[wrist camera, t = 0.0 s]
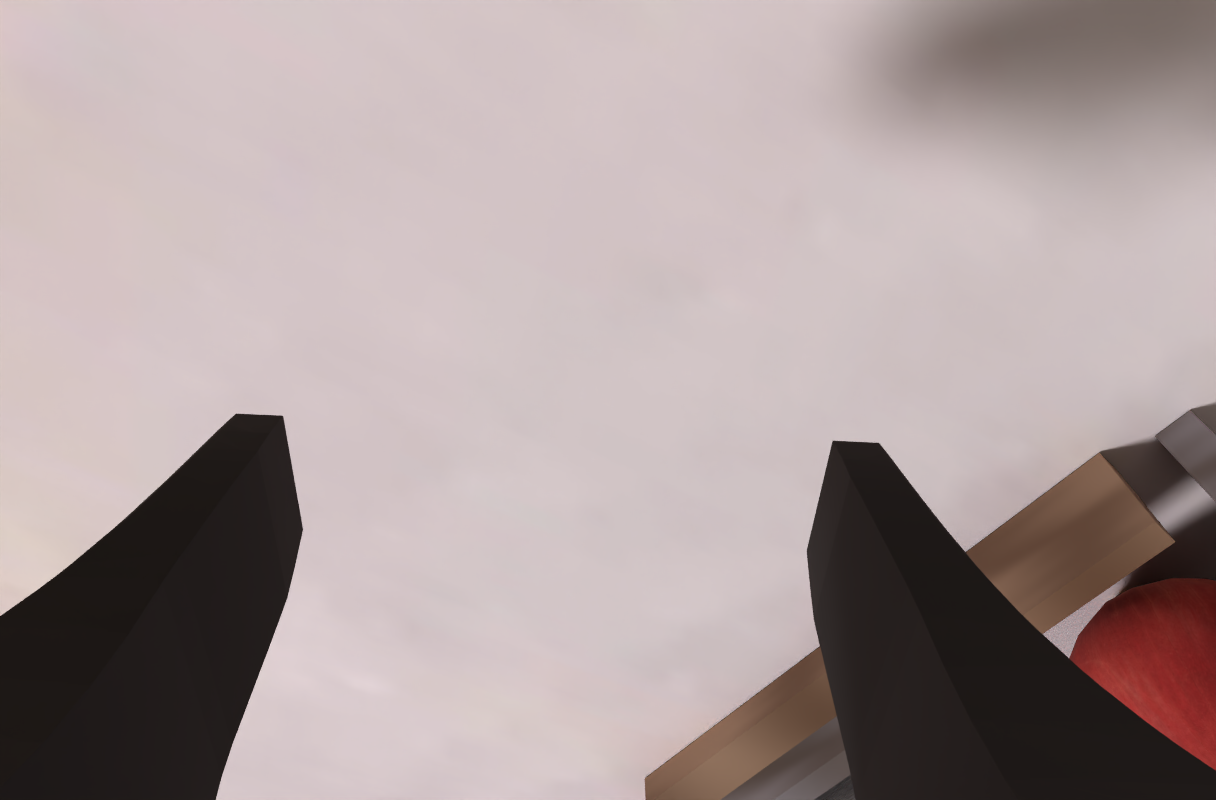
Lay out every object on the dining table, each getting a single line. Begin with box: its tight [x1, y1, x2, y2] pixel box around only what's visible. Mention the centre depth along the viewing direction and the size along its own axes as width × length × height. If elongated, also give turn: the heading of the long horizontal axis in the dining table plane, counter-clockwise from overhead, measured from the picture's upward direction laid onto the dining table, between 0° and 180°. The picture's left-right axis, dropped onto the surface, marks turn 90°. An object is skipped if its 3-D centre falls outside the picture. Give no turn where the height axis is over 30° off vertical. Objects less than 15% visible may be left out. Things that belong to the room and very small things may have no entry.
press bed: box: [645, 410, 1216, 800], centre depth 27 cm, size 18×10×5 cm, turn 137°
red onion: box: [1069, 578, 1216, 770], centre depth 25 cm, size 6×6×8 cm
